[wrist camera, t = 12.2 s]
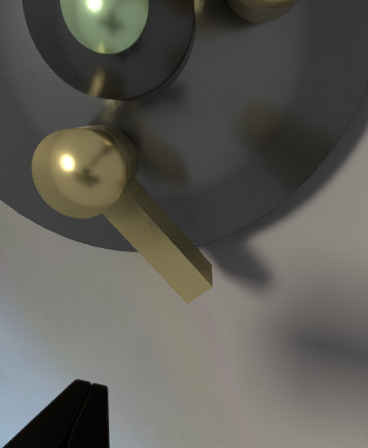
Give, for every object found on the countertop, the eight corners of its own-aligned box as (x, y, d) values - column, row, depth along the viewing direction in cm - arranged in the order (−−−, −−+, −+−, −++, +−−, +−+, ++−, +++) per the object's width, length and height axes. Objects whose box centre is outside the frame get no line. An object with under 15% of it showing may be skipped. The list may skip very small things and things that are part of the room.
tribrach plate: (476, -225, 10) (650, -438, 6) (274, 277, 17) (294, 328, 13) (-115, -398, 10) (-338, -749, 6) (-75, 191, 17) (-161, 216, 13)
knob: (54, 156, 14) (13, 169, 11) (103, 108, 13) (73, 108, 10) (176, 286, 16) (170, 327, 13) (226, 251, 15) (231, 287, 12)
